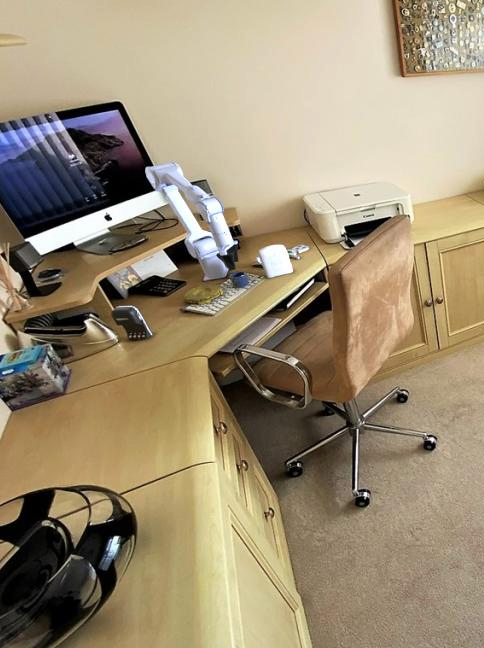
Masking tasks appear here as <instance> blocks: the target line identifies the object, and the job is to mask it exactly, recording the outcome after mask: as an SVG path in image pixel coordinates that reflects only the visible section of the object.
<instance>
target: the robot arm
mask: <svg viewBox="0 0 484 648" xmlns="http://www.w3.org/2000/svg"><path fill="white" fill-rule="evenodd" d="M144 172H145V175H146V178H147V180H148V181H149V183H150V184H151V186H152V188H153V189H154V190H155V191H156V192H158V193H161V194H162V195H163V196H164V198H165V199H166V201H167V202H168V203H167V204H169V206H170V207H171V209H172V211H173V212H174V214H175V216H176V217H177V218H178V220H179V222H180V223H181V225H182V227H183V228H184V230H185V232H186V233H187V236H186V237H185V239H184V244H185V246H186V248H187V252H188V253H189V254H190V255H191V257H192V258H193V259H197V260H198V262H199V265H200V267H201V269H202V271H203V273H204V278H203V281H204V282H206V281H212V280H217V279H224V278H226V277H227V274H228V272H229V271H236V270H237V269H236V263H239V253H238V240H234V239H233V237H232V234H231V232H230V228H229V226H228V223H227V221H226V219H225V217H224V214H223V213H224V211H225V209H224V205H223V203H222V201H221V200H220V199H219V198H218V197H217V196H214V195H209V194H208V193H207V192H205V191H204V190H203V189H201V187H199V186H198V185H192V183H191V182H190V181H189V180H188V179H187V178H185V176H184V173H183V170H182V168H181V167H180V165H179V164H178V163H176V162H175V161H171V162H166V163H162V164H157V165H152V166H146V167H145V171H144ZM179 190H180V191H182V192H183V193H184V197H185V199H187V200H188V201H189V202H191V204H193V205H194V206H195V207H196V210H197V211H198V213H199V214H200V215H201V217H202V219H203V220H204V222H206V224H207V227H208V229H209V231H207V230H205V229H202V228H201V226H200V224H199V222H198V221H197V219H196V217H195V216H194V215H193V213H192V211H191V209H190V208H189V206H188V205H187V203H186V201H185V200H184V199H183V197H182V194H181V193H180V192H179Z"/></svg>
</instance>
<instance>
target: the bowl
mask: <svg viewBox="0 0 484 648" xmlns="http://www.w3.org/2000/svg"><path fill="white" fill-rule="evenodd" d="M228 278H229V280H230V282H231V284H232V286H233V285H234V286H233V288H236V289H241V288H244V287H247V286H248V285H249V284H250V281H249V278H248V276H247V273H246V272H245V271H236V272H232V273H231V274H230V275H229V277H228Z"/></svg>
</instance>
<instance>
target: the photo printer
mask: <svg viewBox="0 0 484 648" xmlns="http://www.w3.org/2000/svg"><path fill="white" fill-rule="evenodd" d="M287 250H288V249H286V247H285V245H284V244H272V245H268V246H264V247H262V248H260V249H259V250H258V256H259V257H260V260H261V263H262V264H261V265H262V268H263V271H264V274H265V276H266V278H267V279H270V278H271V279H272V278H275V277H279V276H284V275H288V274H291V273H293V272H294V269H293V266H292V262H291V259H290V257H289V256H288V253H287Z"/></svg>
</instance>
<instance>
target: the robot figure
mask: <svg viewBox="0 0 484 648" xmlns="http://www.w3.org/2000/svg"><path fill="white" fill-rule="evenodd" d="M286 250H287V253H288V256H289V258H293V259H296V260H300V259H301V256H300V255H298V254H301V253H304V252H306V251H308V250H310V246H309V245H306V244H299V245H296V246H294V247H291V248H290V249H286ZM255 260H256V262H257V264H258V265H259V266H260V265H262V263H261V260H260V257H259V255H258V256H255Z"/></svg>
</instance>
